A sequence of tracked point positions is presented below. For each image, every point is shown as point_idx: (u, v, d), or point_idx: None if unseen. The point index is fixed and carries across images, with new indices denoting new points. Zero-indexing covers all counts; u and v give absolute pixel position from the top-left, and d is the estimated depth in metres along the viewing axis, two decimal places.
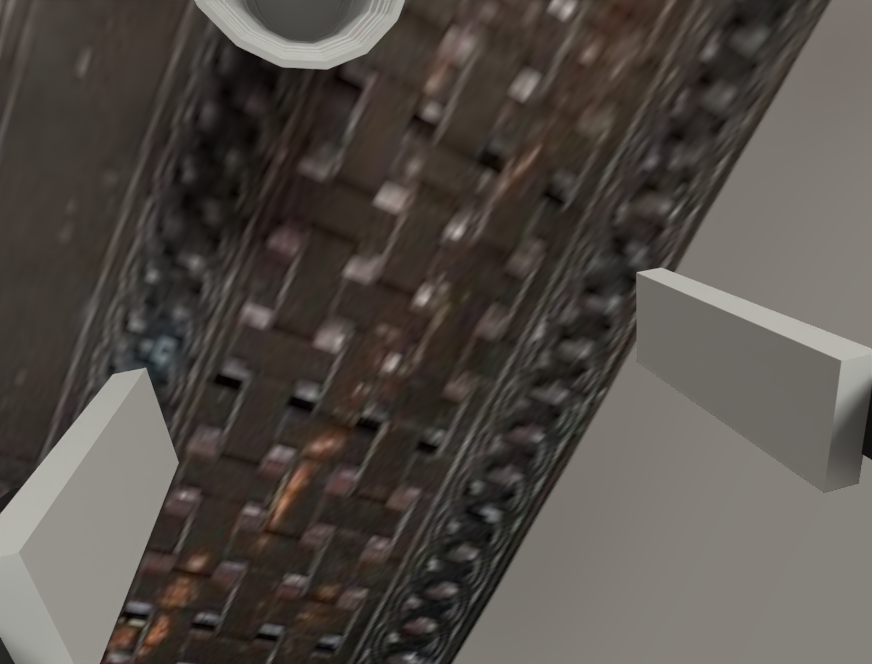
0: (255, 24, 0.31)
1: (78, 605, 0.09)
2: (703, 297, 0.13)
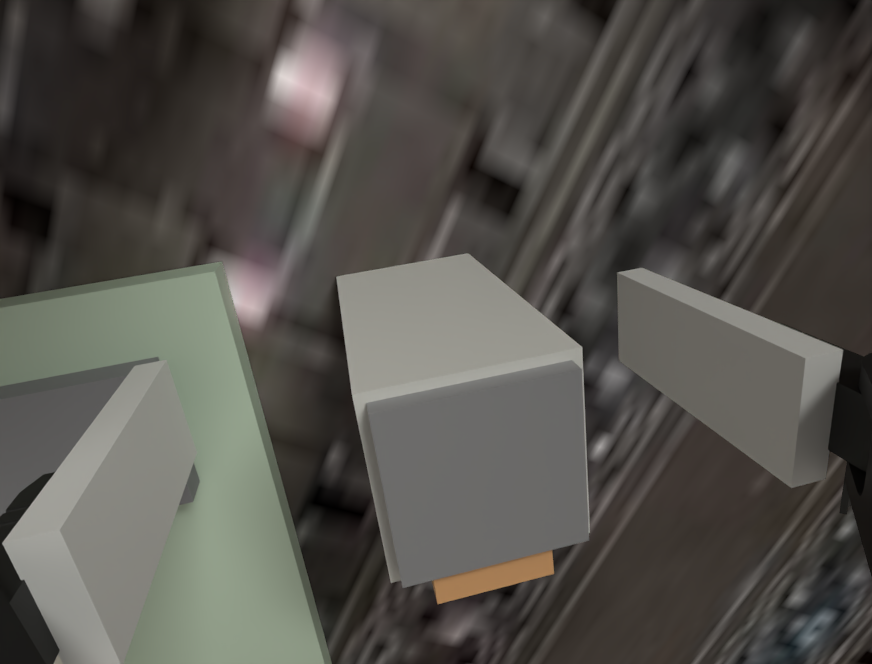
0: None
1: (112, 583, 0.09)
2: (679, 296, 0.13)
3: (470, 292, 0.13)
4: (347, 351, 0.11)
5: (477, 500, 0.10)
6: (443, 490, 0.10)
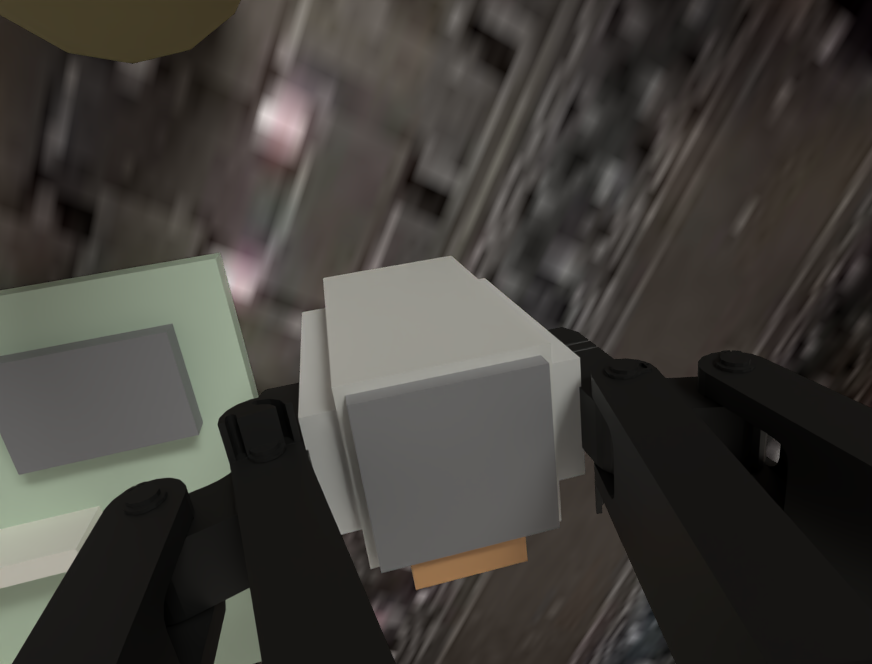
0: None
1: None
2: None
3: (450, 293, 0.14)
4: (329, 348, 0.12)
5: (451, 489, 0.10)
6: (419, 479, 0.10)
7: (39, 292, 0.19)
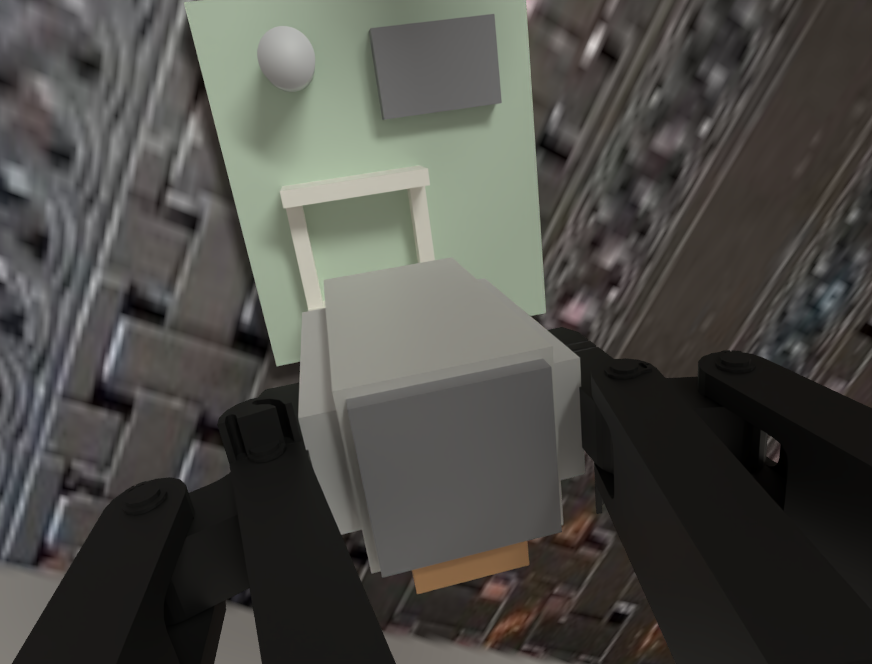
0: None
1: None
2: None
3: (451, 295, 0.14)
4: (330, 351, 0.12)
5: (452, 493, 0.10)
6: (420, 483, 0.10)
7: None
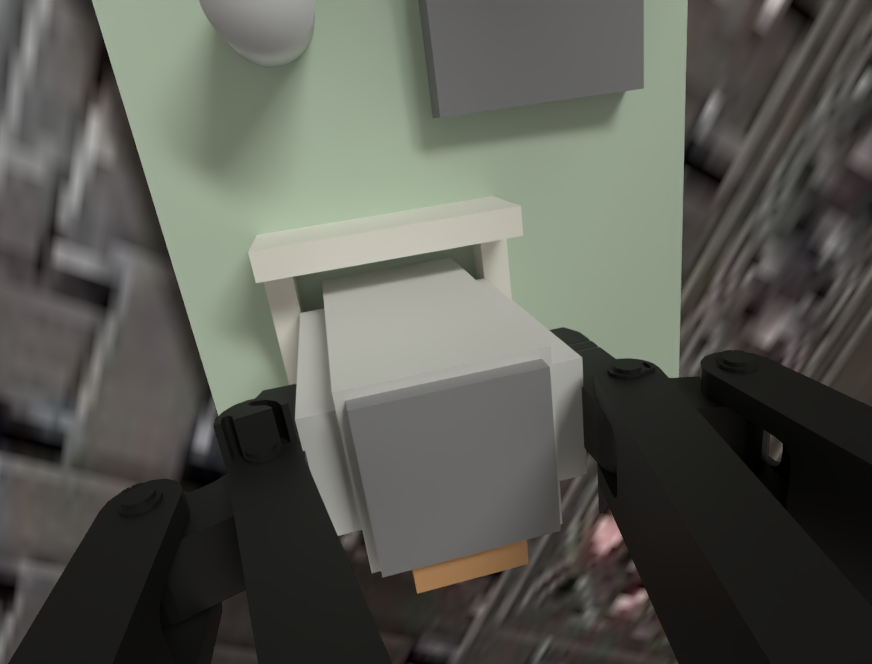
0: None
1: None
2: None
3: (450, 295, 0.14)
4: (329, 352, 0.12)
5: (452, 493, 0.10)
6: (420, 483, 0.10)
7: None
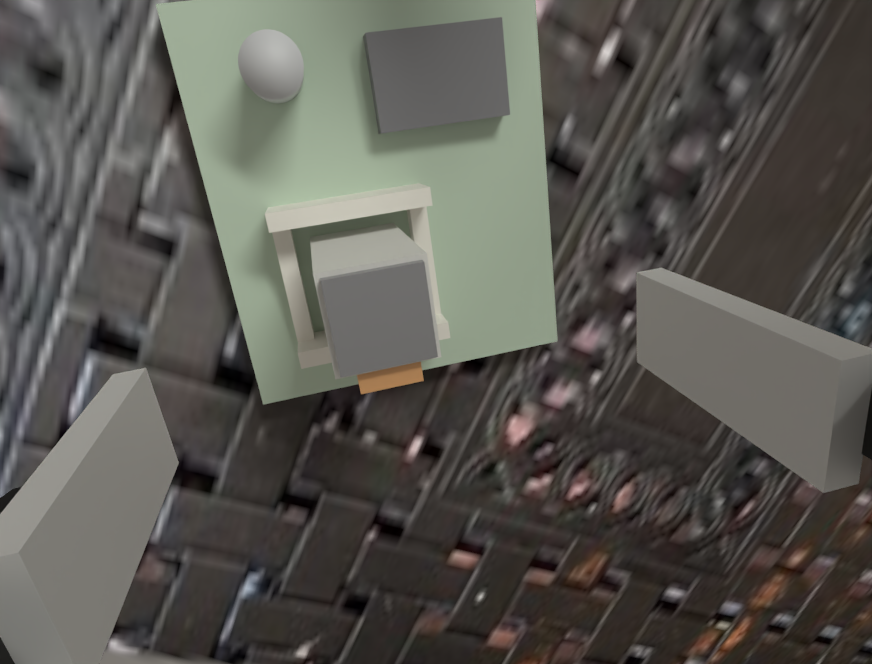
0: None
1: (78, 605, 0.09)
2: (703, 297, 0.13)
3: (385, 238, 0.24)
4: (312, 262, 0.21)
5: (376, 330, 0.20)
6: (359, 323, 0.20)
7: None
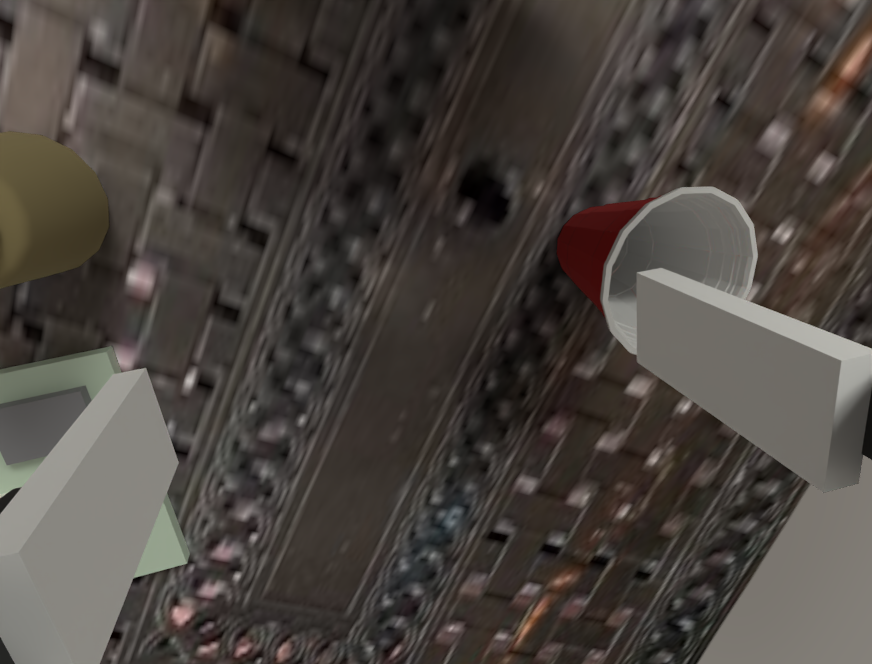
0: None
1: (78, 605, 0.09)
2: (703, 297, 0.13)
3: None
4: None
5: None
6: None
7: (15, 372, 0.37)
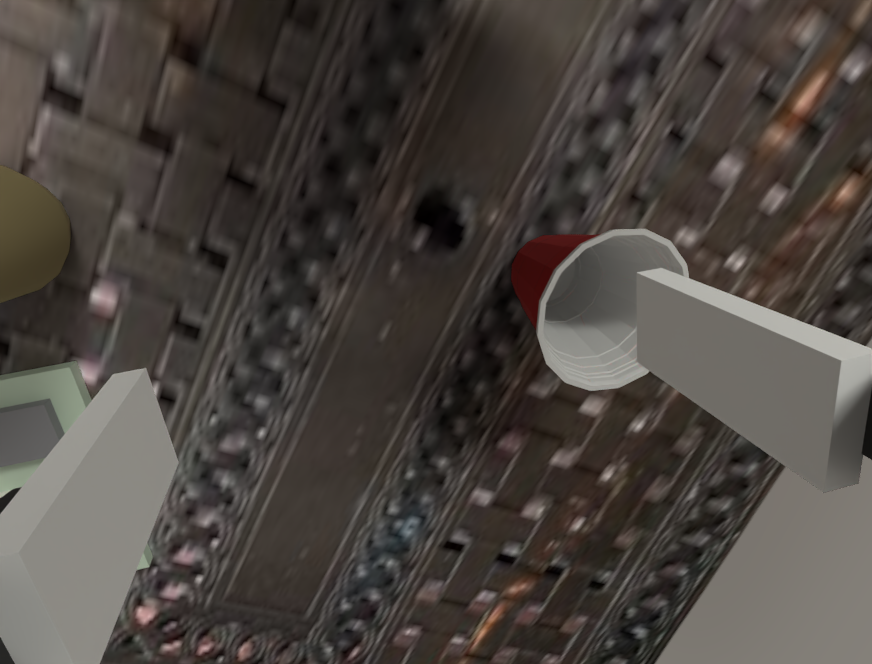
0: None
1: (78, 605, 0.09)
2: (703, 297, 0.13)
3: None
4: None
5: None
6: None
7: None
